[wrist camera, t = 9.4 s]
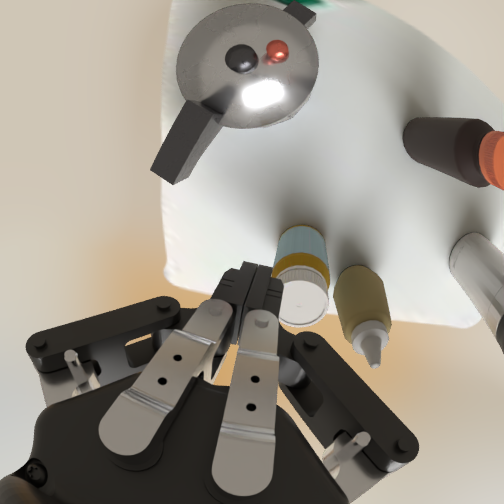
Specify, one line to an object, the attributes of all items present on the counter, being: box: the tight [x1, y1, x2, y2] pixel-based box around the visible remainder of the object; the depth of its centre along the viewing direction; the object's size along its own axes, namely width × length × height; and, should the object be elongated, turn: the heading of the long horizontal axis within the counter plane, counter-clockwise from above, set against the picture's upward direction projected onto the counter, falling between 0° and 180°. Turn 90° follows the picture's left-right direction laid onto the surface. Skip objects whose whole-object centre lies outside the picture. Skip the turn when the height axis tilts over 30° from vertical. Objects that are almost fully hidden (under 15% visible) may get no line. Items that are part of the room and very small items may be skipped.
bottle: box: [271, 225, 330, 327], centre depth 34 cm, size 7×7×15 cm
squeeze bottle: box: [333, 265, 392, 368], centre depth 34 cm, size 8×8×18 cm
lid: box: [150, 4, 319, 185], centre depth 23 cm, size 21×15×5 cm
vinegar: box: [403, 117, 504, 190], centre depth 22 cm, size 7×7×20 cm
